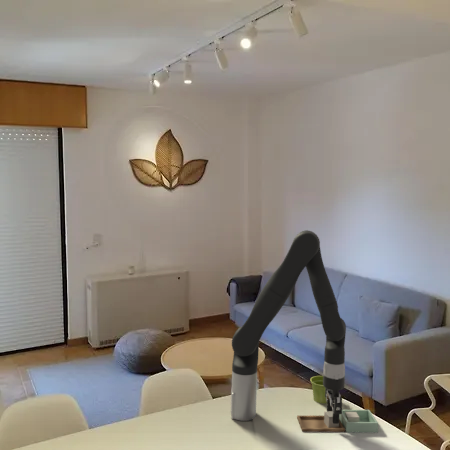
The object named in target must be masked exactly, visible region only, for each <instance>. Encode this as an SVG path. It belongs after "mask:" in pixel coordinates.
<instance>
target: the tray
mask: <svg viewBox="0 0 450 450" xmlns="http://www.w3.org/2000/svg"><path fill="white" fill-rule="evenodd" d="M296 418H297V422H298V424H299V427H300V429H301V431H302V432H303V433H304V432H305V433H306V432H307V433H308V432H309V433H314V432H315V433H319V432H322V433H323V432H325V433H326V432H328V433H329V432H330V433H331V432H333V433H334V432H335V433H336V432H337V433H338V432H339V433H345V432H346V430H345V428H344V426H343V425H342V423H341V421H340V419H339V427H331V428H328V427H327V425H326V424H325V423H324V415H297V416H296Z"/></svg>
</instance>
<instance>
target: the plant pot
mask: <svg viewBox="0 0 450 450" xmlns="http://www.w3.org/2000/svg"><path fill="white" fill-rule="evenodd" d="M310 383H311V385H312V386H311V387H312V394H313V395H312V396H313V400H314V402H316V403H317V404H327V401H326V398H325V387H324V386H323V375H316V376H312V377H310Z"/></svg>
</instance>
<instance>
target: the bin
mask: <svg viewBox="0 0 450 450" xmlns="http://www.w3.org/2000/svg"><path fill="white" fill-rule="evenodd" d="M345 412H356V413H357V414H358V416H359V422H348V420H347V418H346V417H345ZM339 419H340V421H341V423H342V425H343V426H344V428H345V432H346V433H379V422H378V420H377V419H376V417H375V416H374V414H373V413H372V412H371V410H370V409H342V414H339Z"/></svg>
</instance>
